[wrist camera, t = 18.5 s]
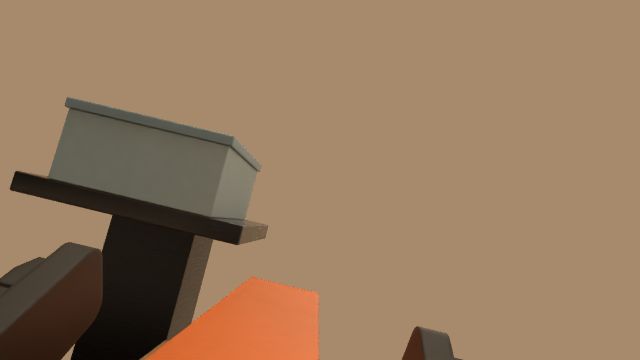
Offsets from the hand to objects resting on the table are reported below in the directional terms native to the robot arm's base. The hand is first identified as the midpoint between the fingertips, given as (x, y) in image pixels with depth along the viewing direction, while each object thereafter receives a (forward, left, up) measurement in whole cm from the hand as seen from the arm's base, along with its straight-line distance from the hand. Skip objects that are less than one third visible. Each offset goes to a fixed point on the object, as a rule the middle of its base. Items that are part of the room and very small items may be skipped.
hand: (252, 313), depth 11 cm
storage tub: (-10, +20, +2) cm, 23 cm away
